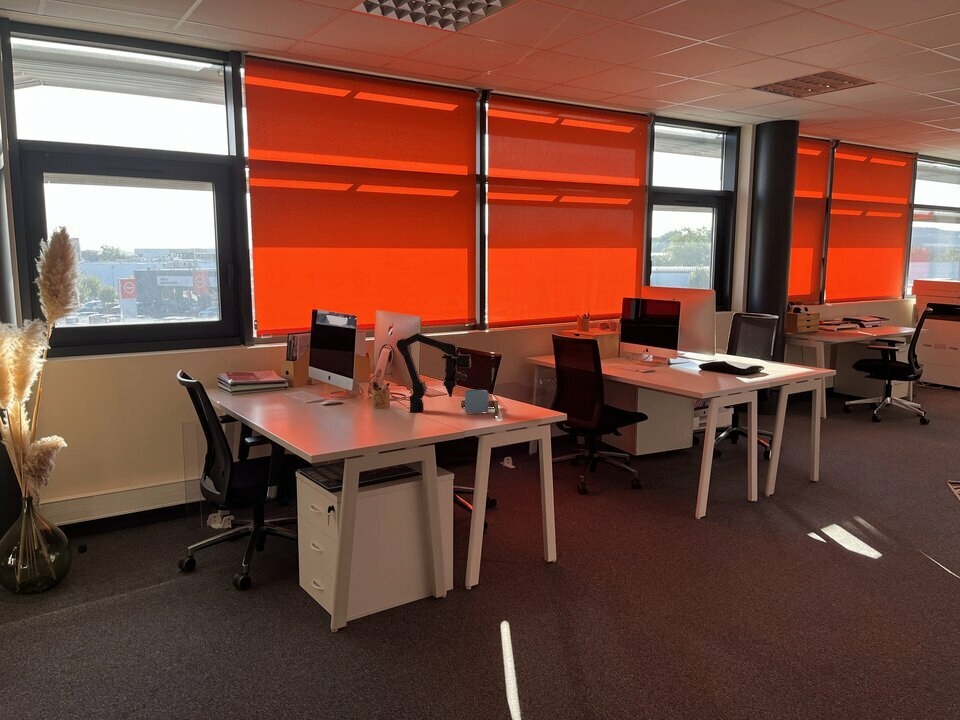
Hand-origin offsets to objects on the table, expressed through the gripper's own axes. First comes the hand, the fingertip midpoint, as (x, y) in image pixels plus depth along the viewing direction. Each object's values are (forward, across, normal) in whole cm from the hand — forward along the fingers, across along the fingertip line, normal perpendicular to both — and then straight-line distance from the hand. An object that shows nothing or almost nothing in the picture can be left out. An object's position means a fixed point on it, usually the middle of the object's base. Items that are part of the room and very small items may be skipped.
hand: (450, 396), depth 364 cm
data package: (+9, 0, -14) cm, 16 cm away
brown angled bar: (+8, +1, -15) cm, 17 cm away
